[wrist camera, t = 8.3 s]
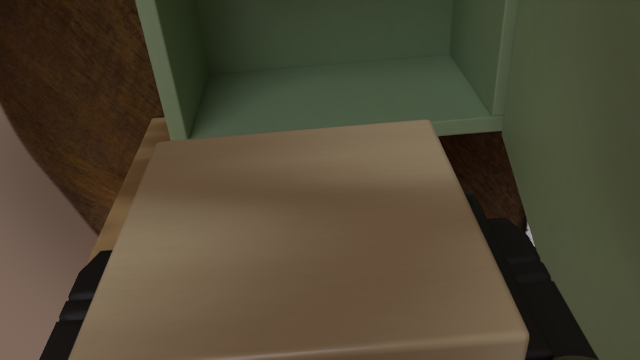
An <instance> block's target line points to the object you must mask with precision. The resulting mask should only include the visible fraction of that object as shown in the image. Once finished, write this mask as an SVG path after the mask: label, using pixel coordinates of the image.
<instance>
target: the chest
mask: <svg viewBox="0 0 640 360" xmlns="http://www.w3.org/2000/svg"><path fill="white" fill-rule="evenodd" d="M135 1H136V5H137V9H138V13H139V17H140V21H141V25H142V29H143V33H144V37H145V41H146V45H147V49H148V52H149V56H150V60H151V64H152V68H153V72H154V76H155V80H156V84H157V88H158V92H159V96H160V100H161V104H162V108H163V111H164V115H165V119H166V123H167V127H168V131H169V135H170V139H171V141H173V140H185V139H197V138H209V137H221V136H233V135H245V134H257V133H269V132H281V131H293V130H305V129H317V128H329V127H341V126H353V125H364V124H376V123H388V122H400V121H412V120H424V119H426V120H429V121H431V123H432V125H433V128H434V130H435V132H436V134H437V136H445V135H457V134H469V133H481V132H493V131H502V129H503V121H504V114H505V106H506V99H507V91H508V84H509V76H510V69H511V61H512V54H513V46H514V39H515V31H516V24H517V17H518V9H519V2H520V0H135Z"/></svg>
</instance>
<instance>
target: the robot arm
mask: <svg viewBox="0 0 640 360" xmlns="http://www.w3.org/2000/svg"><path fill="white" fill-rule="evenodd" d="M464 194H465V196H466V199H467V201H468V203H469V205H470V207H471V209H472V211H473V214H474V216H475V218H476V220H477V222H478V224H479V227H480V229H481V231H482V233H483V235H484V237H485V239H486V242H487V244H488V246H489V248H490V250H491V252H492V255H493V257H494V259H495V261H496V263H497V265H498V267H499V270H500V272H501V274H502V276H503V278H504V280H505V282H506V285H507V287H508V289H509V291H510V293H511V295H512V298H513V300H514V302H515V304H516V306H517V308H518V310H519V313H520V315H521V317H522V319H523V321H524V323H525V326H526V328H527V330H528V332H529V343H528V348H527V352H526V357H525V360H599V359H598V357H597V356H596V354H595V353H594V351H593V349H592V347H591V346H590V344H589V342H588V340H587V339H586V337H585V335H584V333H583V332H582V330H581V328H580V326H579V325H578V323H577V321H576V319H575V318H574V316H573V314H572V312H571V311H570V309H569V307H568V305H567V303H566V302H565V300H564V298H563V296H562V295H561V293H560V291H559V289H558V288H557V286H556V284H555V282H554V281H551V275H550V274H549V272H548V270H547V268H546V267H545V265H544V263H543V262H541V261H540V256H539V254H538V253H537V251H536V249H535V247H534V246H533V244H532V242H531V240H530V239H529V237H528V235H526V234H525V233H524V232H523V231H521V230H520V229H519V228H518V227H516V226H515V225H514V224H513V223H511V222H510V221H509V220H507V219H506V218H496V219H487V218H486V216H485V214H484V212H483V210H482V208H481V206H480V204H479V202H478V200H477V198H476V196H475V195H474V193H472V192H468V193H464ZM112 251H113V250H106V251H100V252H99V253H98V254H97V255H96V256H95V257H94V258H93V259H92V260H91V261H90V262H89V263H88V264H87V265H86V266H85V267H84V268H83V269H82V270H81V271H80V272H79V274H78V277H77V279H76V281H75V283H74V285H73V287H72V290H71V292H70V294H69V301H66V303H65V305H64V307H63V309H62V311H61V314H60V316H59V318H60V320H59V322H56V324H55V327H54V329H53V331H52V333H51V335H50V338H49V340H48V342H47V344H46V346H45V348H44V350H43V353H42V355H41V357H40V359H39V360H68V359H69V356H70V354H71V351H72V349H73V346H74V344H75V341H76V339H77V336H78V334H79V332H80V329H81V327H82V324H83V322H84V319H85V317H86V314H87V312H88V310H89V307H90V305H91V302H92V300H93V297H94V295H95V292H96V290H97V288H98V285H99V283H100V280H101V278H102V275H103V273H104V270H105V268H106V265H107V263H108V261H109V258H110V256H111V253H112Z"/></svg>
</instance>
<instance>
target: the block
mask: <svg viewBox="0 0 640 360" xmlns="http://www.w3.org/2000/svg"><path fill="white" fill-rule="evenodd" d="M528 343H529V332H528V330H527V328H526V326H525V323H524V321H523V319H522V317H521V315H520V313H519V310H518V308H517V306H516V304H515V302H514V300H513V298H512V295H511V293H510V291H509V289H508V287H507V285H506V282H505V280H504V278H503V276H502V274H501V272H500V270H499V267H498V265H497V263H496V261H495V259H494V257H493V255H492V252H491V250H490V248H489V246H488V244H487V242H486V239H485V237H484V235H483V233H482V231H481V229H480V227H479V224H478V222H477V220H476V218H475V216H474V214H473V211H472V209H471V207H470V205H469V203H468V201H467V199H466V196H465V194H464V192H463V190H462V188H461V186H460V184H459V181H458V179H457V177H456V175H455V173H454V171H453V168H452V166H451V164H450V162H449V160H448V158H447V156H446V153H445V151H444V149H443V147H442V145H441V143H440V140H439V138H438V136H437V134H436V132H435V130H434V128H433V125H432V123H431V121H429V120H426V119H424V120H412V121H400V122H388V123H376V124H364V125H353V126H341V127H329V128H317V129H305V130H293V131H281V132H269V133H257V134H245V135H233V136H221V137H209V138H197V139H185V140H173V141H161V142H159V143H157V144H156V145H155V148H154V150H153V153H152V155H151V158H150V160H149V163H148V165H147V167H146V170H145V172H144V175H143V177H142V180H141V182H140V185H139V187H138V190H137V192H136V194H135V197H134V199H133V202H132V204H131V207H130V209H129V212H128V214H127V216H126V219H125V221H124V224H123V226H122V229H121V231H120V234H119V236H118V239H117V241H116V243H115V246H114V248H113V251H112V253H111V256H110V258H109V261H108V263H107V265H106V268H105V270H104V273H103V275H102V278H101V280H100V283H99V285H98V288H97V290H96V292H95V295H94V297H93V300H92V302H91V305H90V307H89V310H88V312H87V314H86V317H85V319H84V322H83V324H82V327H81V329H80V332H79V334H78V336H77V339H76V341H75V344H74V346H73V349H72V351H71V354H70V356H69V359H68V360H525V357H526V352H527V348H528Z"/></svg>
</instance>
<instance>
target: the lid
mask: <svg viewBox="0 0 640 360" xmlns="http://www.w3.org/2000/svg"><path fill="white" fill-rule="evenodd" d="M502 138H503V141H504V144H505V148H506V151H507V154H508V158H509V161H510V164H511V167H512V171H513V174H514V177H515V181H516V184H517V187H518V191H519V194H520V197H521V201H522V204H523V207H524V211H525V214H526V217H527V221H528V224H529V227H530V231H531V234H532V237H533V241H534V244H535V247H536V251H537V253H538V254H539V256H540V261H541V262H543V263H544V265H545V267H546V268H547V270H548V272H549V274H550V275H551V281H554V282H555V284H556V286H557V288H558V289H559V291H560V293H561V295H562V296H563V298H564V300H565V302H566V303H567V305H568V307H569V309H570V311H571V312H572V314H573V316H574V318H575V319H576V321H577V323H578V325H579V326H580V328H581V330H582V332H583V333H584V335H585V337H586V339H587V340H588V342H589V344H590V346H591V347H592V349H593V351H594V353H595V354H596V356H597V357H598V359H599V360H640V0H520V2H519V9H518V17H517V24H516V31H515V39H514V46H513V54H512V61H511V69H510V76H509V84H508V91H507V99H506V106H505V114H504V121H503V129H502Z"/></svg>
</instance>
